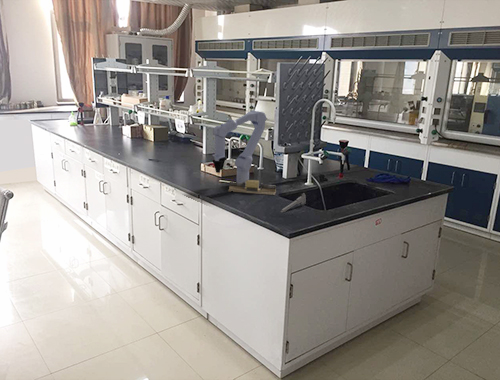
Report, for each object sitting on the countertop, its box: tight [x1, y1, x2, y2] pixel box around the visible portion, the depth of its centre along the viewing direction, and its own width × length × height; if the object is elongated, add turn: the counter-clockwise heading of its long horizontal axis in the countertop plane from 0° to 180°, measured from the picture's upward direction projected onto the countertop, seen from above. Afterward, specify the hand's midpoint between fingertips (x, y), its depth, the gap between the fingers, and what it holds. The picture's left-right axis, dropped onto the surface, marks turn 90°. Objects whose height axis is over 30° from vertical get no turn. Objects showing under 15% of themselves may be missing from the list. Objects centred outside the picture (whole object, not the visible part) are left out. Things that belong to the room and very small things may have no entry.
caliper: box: [280, 192, 307, 214], centre depth 205 cm, size 20×1×6 cm, turn 140°
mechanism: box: [227, 181, 277, 196], centre depth 231 cm, size 7×26×5 cm, turn 81°
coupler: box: [245, 179, 260, 191], centre depth 231 cm, size 4×7×5 cm, turn 81°
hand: (219, 171), depth 236 cm, fingers open, 7 cm apart
